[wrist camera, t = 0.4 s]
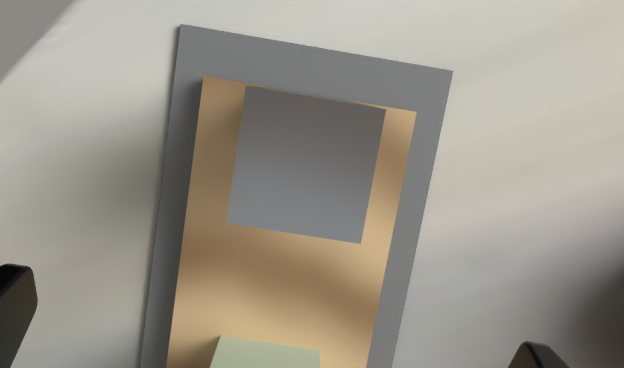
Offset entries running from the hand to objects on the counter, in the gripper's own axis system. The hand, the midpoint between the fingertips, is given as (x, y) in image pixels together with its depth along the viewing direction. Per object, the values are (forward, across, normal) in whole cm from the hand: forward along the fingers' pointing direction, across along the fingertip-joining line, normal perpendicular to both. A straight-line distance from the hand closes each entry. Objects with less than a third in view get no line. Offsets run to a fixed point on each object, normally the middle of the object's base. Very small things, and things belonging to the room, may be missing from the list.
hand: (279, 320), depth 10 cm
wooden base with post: (+12, 0, +10) cm, 15 cm away
